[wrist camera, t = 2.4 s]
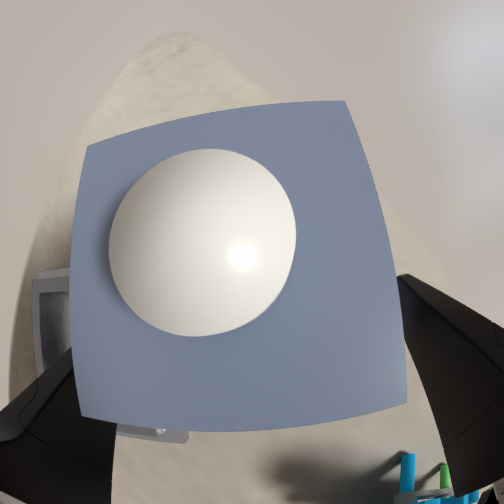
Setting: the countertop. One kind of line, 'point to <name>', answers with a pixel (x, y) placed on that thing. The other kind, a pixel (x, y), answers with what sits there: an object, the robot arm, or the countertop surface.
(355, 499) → the countertop surface
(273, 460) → the countertop surface
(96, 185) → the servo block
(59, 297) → the grey square tray
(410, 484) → the gear
